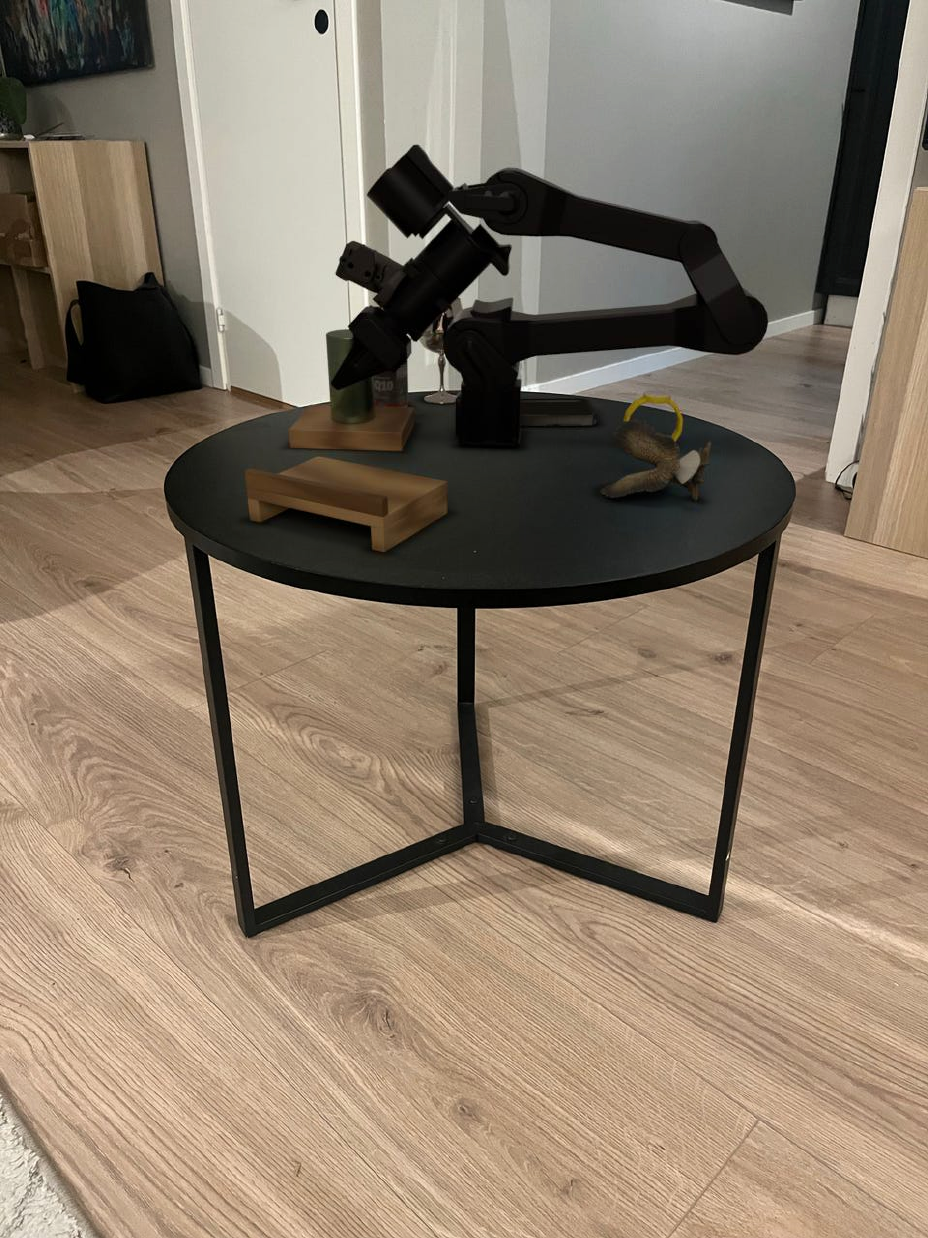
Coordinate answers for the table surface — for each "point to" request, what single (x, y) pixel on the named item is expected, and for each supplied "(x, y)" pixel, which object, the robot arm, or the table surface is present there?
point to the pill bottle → (392, 388)
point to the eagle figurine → (656, 461)
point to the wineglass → (440, 349)
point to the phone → (557, 412)
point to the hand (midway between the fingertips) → (338, 380)
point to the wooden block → (352, 430)
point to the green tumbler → (352, 400)
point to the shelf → (350, 497)
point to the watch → (657, 398)
